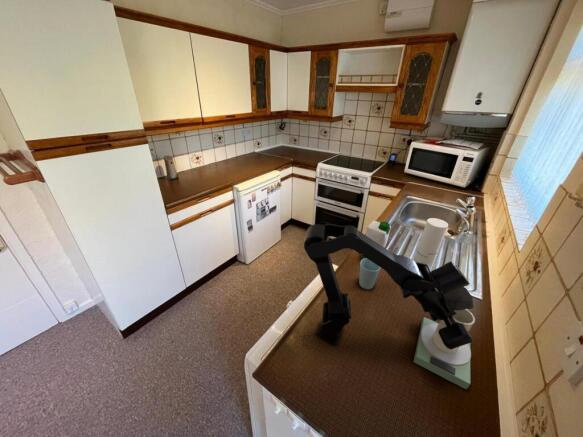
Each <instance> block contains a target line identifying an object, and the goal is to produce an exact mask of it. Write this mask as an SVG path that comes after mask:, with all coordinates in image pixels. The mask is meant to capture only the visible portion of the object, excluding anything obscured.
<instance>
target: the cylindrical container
mask: <svg viewBox="0 0 583 437" xmlns="http://www.w3.org/2000/svg"><path fill="white" fill-rule="evenodd" d="M448 228H449V223H448V222H447V221H445V220H443V219H440V218H437V217H430V218H428V219H427V220H426V222H425V225H424V228H423V231H422V235H421V238H420V240H419V244H418V246H417V249H416V252H415V255H414V258H413V261H415V262H418V263H423V264H427V265H428V266H429V268H430V270H431V271H432V268H433V266H434V264H435V261H436V258H437V256H438V253H439V250H440V248H441V245H442V243H443V240H444V238H445V235H446V233H447V230H448ZM420 273H421V272H420ZM421 275H422V274H421ZM422 278H423V276H422Z"/></svg>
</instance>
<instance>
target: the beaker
mask: <svg viewBox="0 0 583 437" xmlns="http://www.w3.org/2000/svg"><path fill="white" fill-rule="evenodd" d="M455 311H456V313H457V314H455V315H453V318H454V320H455V322H458V323H462V324H464V325H465V327H466V329H467V330H468V332H469V333H470V331H471V329H472V328H473V326H474V324H475V322H476V317H475V316H474V314H473V313H472V312H471V311H470V309H464V310H455ZM448 319H449V318H448ZM449 321H450V319H449ZM437 323H438V325H437V327H436V330H435V332H434V334H433V341H434V343H435V344H436V345H437V346H438V347H439V348H440V349H441V350H443V351H445V352H448V353H455V352H457V351H458V349H459V348H460V347H457V348H454V349H448V348H447V347H446V346H445V345H444V344H443V342H442V339H441V337H440V335H439V333H438V332H439V330H440V329H441V328H444V327H447V326H446V324H445V322H444V320H438V322H437ZM450 323H451V321H450ZM451 324H452V323H451Z"/></svg>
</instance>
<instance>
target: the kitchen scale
mask: <svg viewBox="0 0 583 437" xmlns="http://www.w3.org/2000/svg"><path fill="white" fill-rule="evenodd" d="M422 318H423V319H422V320H421V324H420V328H419V334H418V338H417V343H416V348H415V352H414V358H413V363H415V364H416V365H418V366H420V367H422V368H424V369H426V370H428V371H429V372H431V373H434V374H436V375H438V376H440V377H441V378H443V379H444V380H447V381H448V382H450V383H453V384H454V385H457V386H458V387H460V388H462V389H464V390H468V388H469V387H470V385H471V358H472V351H471V343H469V344H466V345H463V346H460V348H459V349H458V351H457V352H455V353H448V352H445V351H443V350H441V349H440V348H439V347H438V346H437V345H436V344H435V343H434V341H433V334H434V332H435V330H436V327H437V325H438V323H439V322H436V321H433V320H432V319H429V318H427V317H425V316H423V317H422Z"/></svg>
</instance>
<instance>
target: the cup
mask: <svg viewBox="0 0 583 437" xmlns="http://www.w3.org/2000/svg"><path fill="white" fill-rule="evenodd" d="M361 259H362V258H361ZM381 269H382V268H381V267H379V266H378V265H376V264H375V263H373V262H372V261H370V260H368V259H367V258H365V259H362V260H360V262H359V277H358V278H359V280H358V284H359V287H361V288H362V289H365V290H371V289H373V288H374V285H375V283H376V281H377V278H378V276H379V274H380V271H381Z"/></svg>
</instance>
